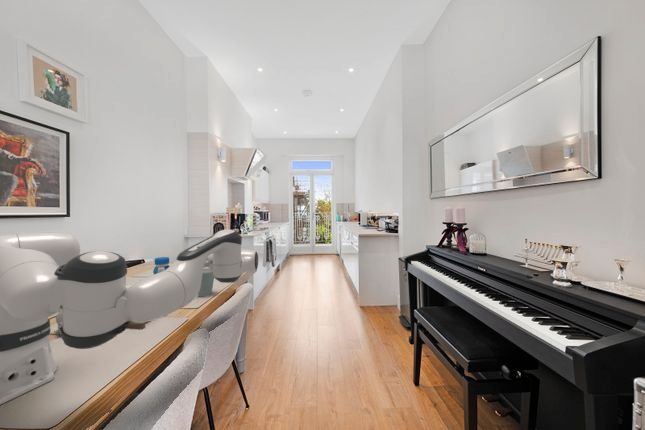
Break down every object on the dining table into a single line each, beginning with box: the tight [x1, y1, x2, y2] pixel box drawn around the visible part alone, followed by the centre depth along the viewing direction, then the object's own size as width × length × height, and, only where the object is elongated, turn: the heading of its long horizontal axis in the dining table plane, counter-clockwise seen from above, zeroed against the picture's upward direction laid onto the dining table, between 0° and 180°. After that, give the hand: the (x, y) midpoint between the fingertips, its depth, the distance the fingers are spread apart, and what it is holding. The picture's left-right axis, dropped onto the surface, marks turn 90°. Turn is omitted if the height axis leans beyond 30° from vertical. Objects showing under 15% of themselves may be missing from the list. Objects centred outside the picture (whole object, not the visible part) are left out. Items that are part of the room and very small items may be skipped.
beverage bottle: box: [152, 256, 171, 275], centre depth 146 cm, size 8×8×20 cm
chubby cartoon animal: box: [55, 309, 62, 337], centre depth 103 cm, size 7×12×8 cm, turn 27°
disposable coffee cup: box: [197, 267, 215, 297], centre depth 147 cm, size 11×11×15 cm
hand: (184, 259), depth 109 cm, fingers closed
